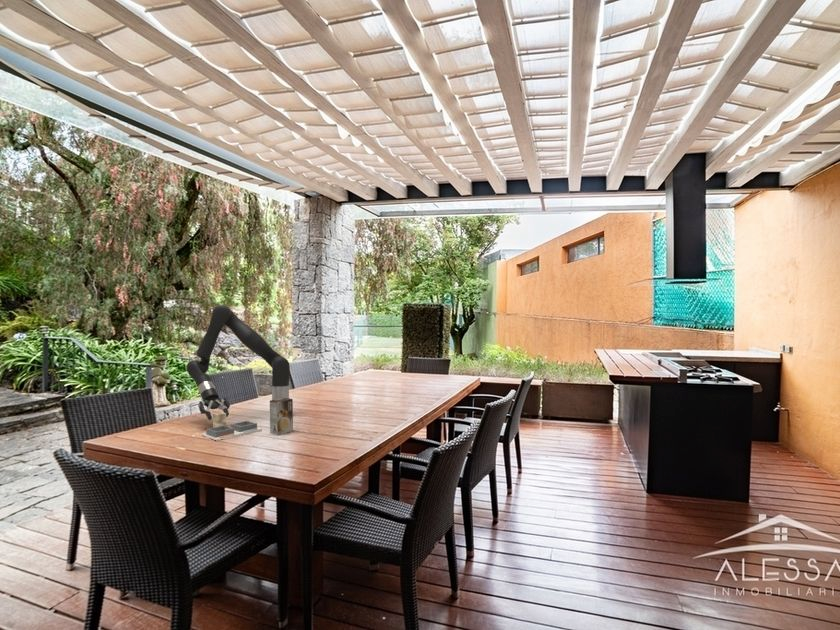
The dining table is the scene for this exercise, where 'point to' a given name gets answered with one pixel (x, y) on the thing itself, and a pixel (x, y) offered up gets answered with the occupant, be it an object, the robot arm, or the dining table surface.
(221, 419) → the plug
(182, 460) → the dining table surface
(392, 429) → the dining table surface
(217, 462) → the dining table surface
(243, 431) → the socket board
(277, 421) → the coffee box
